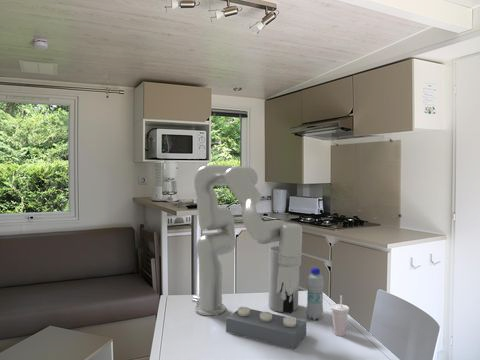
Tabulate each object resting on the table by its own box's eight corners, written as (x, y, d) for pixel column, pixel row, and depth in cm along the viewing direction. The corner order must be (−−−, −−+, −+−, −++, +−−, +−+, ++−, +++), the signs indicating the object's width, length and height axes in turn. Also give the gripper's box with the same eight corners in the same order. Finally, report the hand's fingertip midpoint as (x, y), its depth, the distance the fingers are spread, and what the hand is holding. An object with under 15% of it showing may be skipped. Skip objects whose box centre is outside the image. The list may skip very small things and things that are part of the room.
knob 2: (281, 338, 127) (281, 320, 127) (285, 333, 131) (286, 315, 131) (293, 341, 125) (293, 323, 125) (297, 336, 129) (297, 318, 129)
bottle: (323, 322, 143) (324, 270, 142) (305, 320, 144) (306, 269, 143) (323, 315, 149) (324, 266, 148) (306, 313, 150) (307, 265, 150)
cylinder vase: (264, 310, 154) (265, 250, 153) (273, 300, 165) (274, 244, 164) (293, 315, 149) (294, 253, 148) (301, 304, 161) (302, 247, 160)
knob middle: (257, 332, 132) (257, 315, 131) (262, 327, 136) (263, 310, 135) (268, 335, 130) (269, 317, 129) (273, 330, 133) (274, 313, 133)
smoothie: (338, 339, 128) (339, 299, 128) (326, 331, 134) (327, 293, 134) (352, 335, 131) (353, 296, 131) (340, 328, 137) (340, 291, 137)
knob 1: (235, 327, 136) (235, 310, 136) (241, 322, 140) (241, 306, 140) (246, 329, 134) (246, 312, 134) (251, 325, 138) (251, 308, 138)
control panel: (226, 331, 134) (226, 318, 133) (242, 319, 144) (242, 307, 144) (294, 349, 121) (294, 334, 121) (306, 335, 132) (306, 321, 131)
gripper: (287, 253, 136) (286, 302, 137) (271, 263, 123) (269, 317, 124) (307, 256, 132) (305, 307, 133) (292, 266, 119) (290, 322, 120)
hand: (288, 311), depth 128 cm, fingers closed
